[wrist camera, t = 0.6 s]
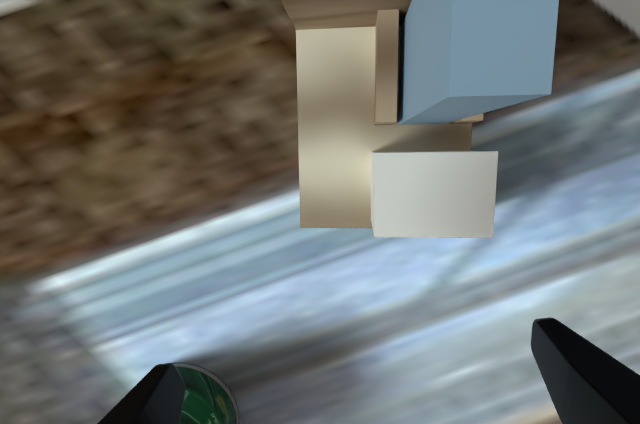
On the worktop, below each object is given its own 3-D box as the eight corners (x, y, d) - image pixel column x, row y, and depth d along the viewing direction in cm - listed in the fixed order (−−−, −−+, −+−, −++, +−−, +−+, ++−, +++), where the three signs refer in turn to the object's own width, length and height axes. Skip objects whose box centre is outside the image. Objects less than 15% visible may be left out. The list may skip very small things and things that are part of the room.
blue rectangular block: (443, 123, 21) (550, 94, 10) (398, 125, 22) (448, 96, 10) (447, 29, 20) (569, -132, 9) (400, 31, 21) (457, -123, 9)
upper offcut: (478, 228, 20) (492, 238, 18) (372, 227, 20) (374, 236, 18) (482, 151, 19) (498, 151, 17) (373, 152, 20) (375, 152, 18)
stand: (461, 225, 23) (498, 251, 17) (302, 224, 24) (285, 249, 18) (472, 12, 21) (517, -40, 15) (298, 20, 22) (277, -26, 16)
